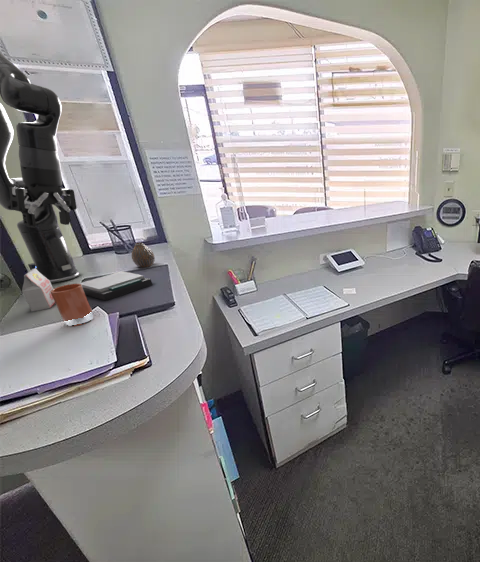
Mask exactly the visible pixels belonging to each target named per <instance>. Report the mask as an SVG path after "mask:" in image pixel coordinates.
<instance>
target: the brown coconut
mask: <svg viewBox="0 0 480 562" xmlns="http://www.w3.org/2000/svg"><path fill="white" fill-rule="evenodd" d="M130 257H131V260H132V262H133V263H134V264H135V265H136V266H137V267H139V268H147V267H152V265H154V263H155V259H156V258H155V257H156V256H155V254H154V252H153V250H152V249H151V248H149V247H148V246H147V245H145V244H144V243H143V242H137V243H134V246H133V248H132V251H131V255H130Z"/></svg>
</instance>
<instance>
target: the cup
mask: <svg viewBox="0 0 480 562" xmlns="http://www.w3.org/2000/svg"><path fill="white" fill-rule="evenodd" d="M50 292H51V294H52V297H53V299H54V301H55V303H54V304H55V306H56V307H57V310H58V312H59V314H60V317H61V318H62V320H63V322H64V321H68V320H72V319H78V318H83V317H84V316H86V315H87V314H89V313H90V312H93V310H92V307H91V305H90V302H89V300H88V296H87V295H85V292H84V290H83V288H82V285H81V284H79V283H70V284H65V285H64V284H63V285H60V286H58V287H53V289H52V290H51V291H50ZM85 324H86V323H84V324H77V325H74V326H73V327H78V326H82V325H85Z"/></svg>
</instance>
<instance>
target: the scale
mask: <svg viewBox="0 0 480 562" xmlns="http://www.w3.org/2000/svg"><path fill="white" fill-rule="evenodd" d="M78 284H81V285H82V288H83V290H84V292H85V295H86V296H87V297H92V298H95V299H98V300H103V301H109V300H113V299H115V298H119V297H122V296H124V295H126V294H130V293H132V292H135V291H138V290H141V289H144V288H148V287H150V286H152V285H153V281H152V278H149V277H145V275H143V274H138V273H133V272H129V271H124V270H120V271H118V272H114V273H111V274H108V275H104V276H100V277H96V278H93V279H89V280H86V281H82V282H78Z"/></svg>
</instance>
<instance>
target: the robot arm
mask: <svg viewBox="0 0 480 562" xmlns="http://www.w3.org/2000/svg"><path fill="white" fill-rule="evenodd" d="M0 98H1V99H2V101H3V102H4V103H5V104H6V105H7V106H8V107H10V108H12V109H14V110H17V111H19V112H22V113H28V114H32V115H33V114H34V115H37V118H36V120H35V121H33V122H30V121H29V122H26V121H24V122H23V121H22V122H18V123H16V126H15V128H16V135H17V142H18V143H17V144H18V158H19V160H18V161H19V166H20V173H21V177H11V178H10V177H9V173H8V171H7V166H6V160H7V154H8V151H9V149H10V146H11V144H12V142H13V139H14V128H13V125H12V122H11V120H10V118H9V116H8V113H7V111H6V109H5V107H4V106H3V104H2V103H1V102H0V206H1V207H2V208H3V209H5V210H7V211H16V212H20V213H21V215H22V220H20V221H18V222H17V223H16V227H17V230H18V231H19V233H20V236H21V238H22V240H23V242H24V244H25V246H26V249H27V251H28V253H29V255H30V257H31V259H32V263H28V264H27V266H28V268H29V270H30V271H31V270H32V269H35V268H36V269H37V270H38V271H39V272H40V273H41V274H42V275H43V276H45V277H46V278H47V279H48V280H50V282H51V284H54V283H61V282H66V281H69V280H73V279H75V278H77V277H79V276H80V273H79V271H78V269H77V266H76V263H75V261H74V259H73V256H72V255H71V251H70V249H69V246H68V244H67V242H66V240H65V237H64V234H63V232H62V230H61V228H60V225H59V223H60V224H61V225H66V226H68V225H70V223H71V215H70V213H71V211H76V210H77V209H78V207H77V201H76V195H75V190H74V189H71V188H66V187H63V188H62V186H63V176H62V167H61V160H60V156H59V153H58V144H57V131H58V127H59V122H60V118H61V115H62V111H63V110H62V109H63V105H62V102H61V100H60V97H59V96H58V95H57V94H56V92H54V91H53V90H52V89H50V88H47V87H45V86H41V85H37V84H34V83H31V81H30V79H29V78H28V76H27V75H26V74H25V73H24V72H23V71H22V70H21V69H19V68H18V67H17V66H16V65H15V64H14V63H13V62H12V61H10V60H9V59H8V58H7V57H6V56H5V55H4V54H3V53H2V52H1V51H0ZM62 196H63V198H62ZM54 206H55V207H56V208H57V209H58V210H59V211H58V215H59V222H58V216H57V213H56V211H55V208H54Z"/></svg>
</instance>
